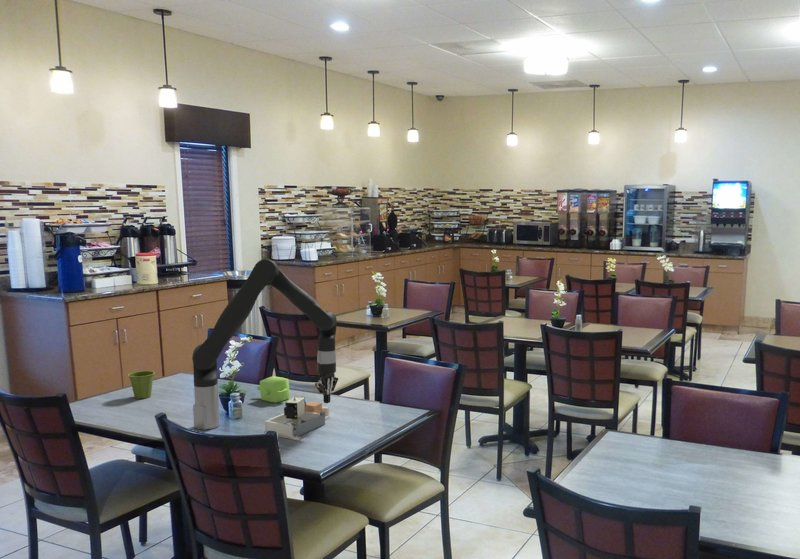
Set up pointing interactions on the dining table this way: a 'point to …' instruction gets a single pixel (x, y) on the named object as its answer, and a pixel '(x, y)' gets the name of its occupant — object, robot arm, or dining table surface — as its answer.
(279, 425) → the tray
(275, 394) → the lime green lidded box
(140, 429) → the dining table surface
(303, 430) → the grey flat board
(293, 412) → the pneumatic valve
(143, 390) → the plant pot
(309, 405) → the block
